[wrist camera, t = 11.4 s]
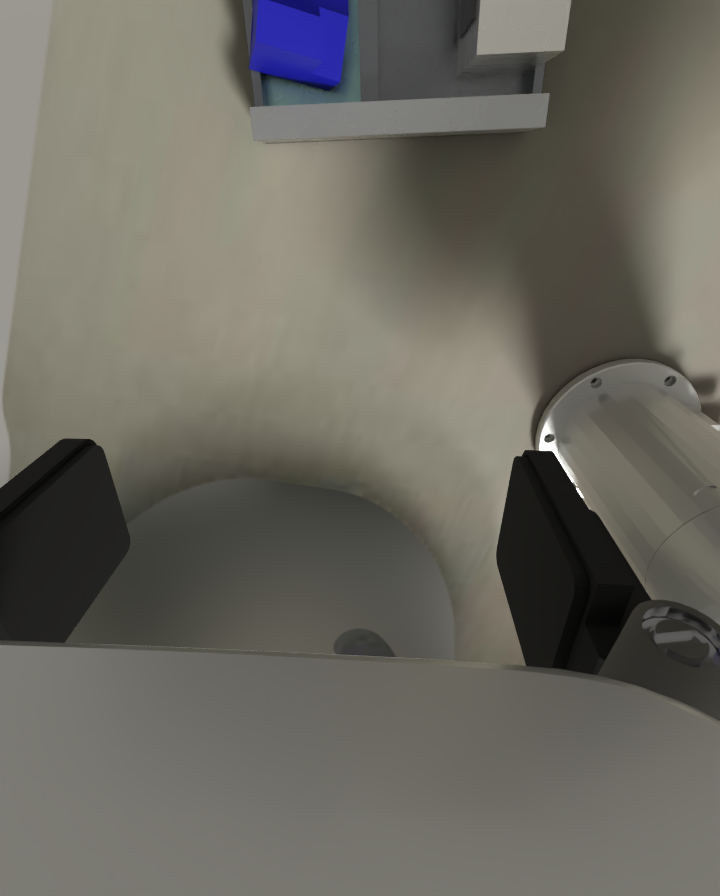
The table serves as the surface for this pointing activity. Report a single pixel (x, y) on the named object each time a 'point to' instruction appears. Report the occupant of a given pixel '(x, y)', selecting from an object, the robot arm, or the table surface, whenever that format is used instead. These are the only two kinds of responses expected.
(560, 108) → the table surface
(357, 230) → the table surface
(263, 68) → the blue curved block
